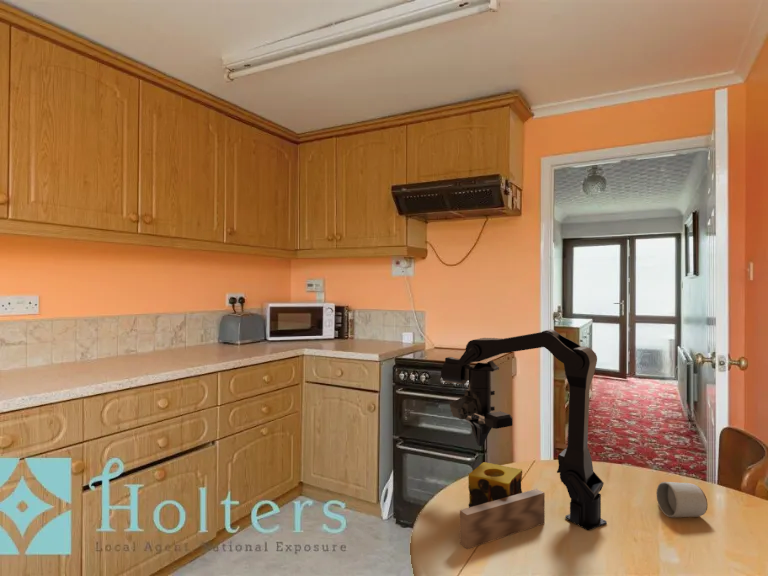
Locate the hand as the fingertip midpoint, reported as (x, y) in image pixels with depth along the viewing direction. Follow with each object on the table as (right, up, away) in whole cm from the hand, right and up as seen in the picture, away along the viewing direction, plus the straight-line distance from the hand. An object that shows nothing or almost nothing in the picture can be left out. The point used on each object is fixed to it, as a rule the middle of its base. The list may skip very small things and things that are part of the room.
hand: (480, 445), depth 125 cm
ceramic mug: (+45, -12, -12) cm, 48 cm away
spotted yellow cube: (+1, -12, -12) cm, 17 cm away
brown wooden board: (+1, -12, -21) cm, 24 cm away
